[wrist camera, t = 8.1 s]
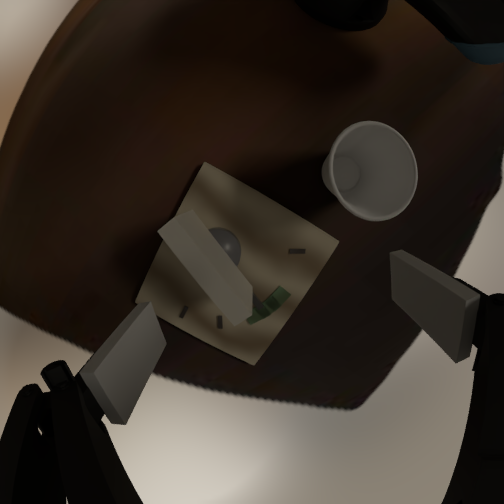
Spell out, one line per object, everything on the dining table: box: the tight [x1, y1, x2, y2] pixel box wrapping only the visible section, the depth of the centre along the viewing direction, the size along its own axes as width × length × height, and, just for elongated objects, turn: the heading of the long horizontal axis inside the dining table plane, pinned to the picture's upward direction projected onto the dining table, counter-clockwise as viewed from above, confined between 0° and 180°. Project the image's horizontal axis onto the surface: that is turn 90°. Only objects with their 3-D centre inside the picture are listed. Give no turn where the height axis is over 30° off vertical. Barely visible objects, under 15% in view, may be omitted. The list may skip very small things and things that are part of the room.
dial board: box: [135, 162, 339, 365], centre depth 37 cm, size 22×20×1 cm
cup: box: [322, 121, 418, 221], centre depth 30 cm, size 10×10×11 cm
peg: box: [157, 209, 264, 326], centre depth 32 cm, size 15×6×10 cm, turn 37°
